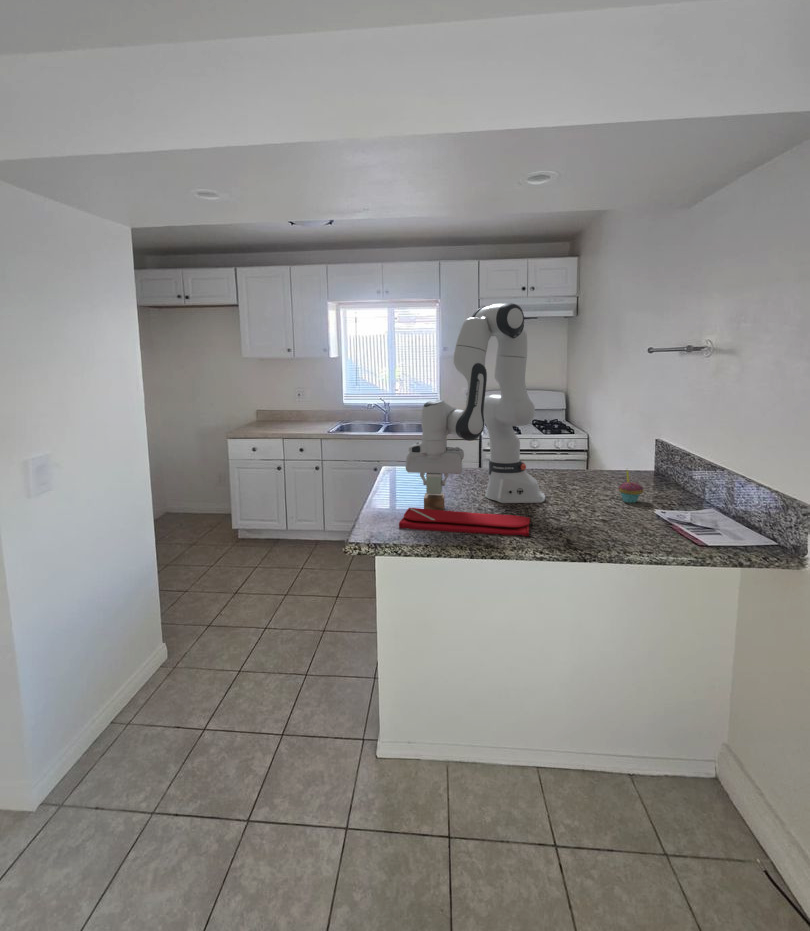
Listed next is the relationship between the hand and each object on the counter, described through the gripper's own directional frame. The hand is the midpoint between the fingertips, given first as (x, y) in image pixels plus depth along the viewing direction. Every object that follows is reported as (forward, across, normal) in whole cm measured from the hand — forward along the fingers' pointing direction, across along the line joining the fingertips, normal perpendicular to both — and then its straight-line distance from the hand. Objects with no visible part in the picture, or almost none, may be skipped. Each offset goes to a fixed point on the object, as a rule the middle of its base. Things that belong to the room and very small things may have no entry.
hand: (434, 485), depth 197 cm
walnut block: (+9, 0, 0) cm, 9 cm away
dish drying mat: (+9, -13, +17) cm, 23 cm away
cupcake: (+9, -70, -21) cm, 74 cm away
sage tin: (+3, 0, 0) cm, 3 cm away
